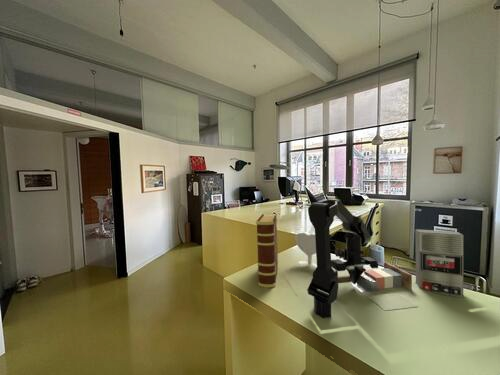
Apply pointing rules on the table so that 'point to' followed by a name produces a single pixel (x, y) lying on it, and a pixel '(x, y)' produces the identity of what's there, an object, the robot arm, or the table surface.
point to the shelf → (405, 275)
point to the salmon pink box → (376, 278)
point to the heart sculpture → (307, 246)
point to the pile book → (391, 301)
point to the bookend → (366, 283)
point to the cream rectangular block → (386, 278)
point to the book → (394, 277)
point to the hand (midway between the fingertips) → (354, 283)
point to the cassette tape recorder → (439, 261)
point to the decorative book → (267, 250)
